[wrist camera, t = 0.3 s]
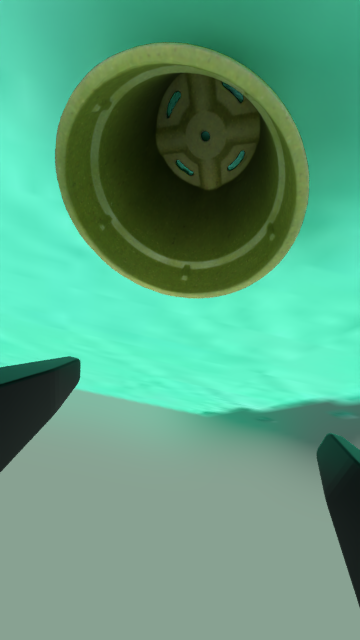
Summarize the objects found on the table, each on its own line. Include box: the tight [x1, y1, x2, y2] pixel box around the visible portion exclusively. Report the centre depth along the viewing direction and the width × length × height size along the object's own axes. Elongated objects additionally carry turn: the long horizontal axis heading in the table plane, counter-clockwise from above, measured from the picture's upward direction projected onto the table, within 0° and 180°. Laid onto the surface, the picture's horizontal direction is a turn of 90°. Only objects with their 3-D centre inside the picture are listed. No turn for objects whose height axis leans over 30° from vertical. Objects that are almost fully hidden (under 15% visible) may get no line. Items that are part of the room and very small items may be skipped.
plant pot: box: [55, 42, 309, 298], centre depth 12 cm, size 9×9×9 cm
